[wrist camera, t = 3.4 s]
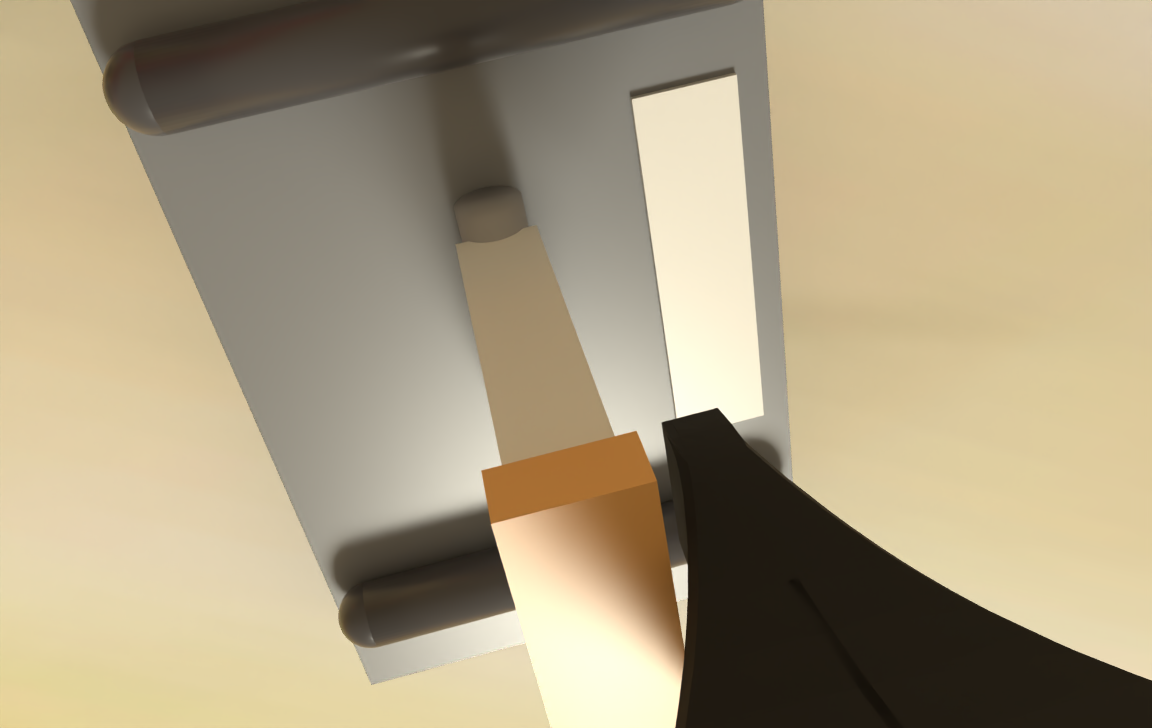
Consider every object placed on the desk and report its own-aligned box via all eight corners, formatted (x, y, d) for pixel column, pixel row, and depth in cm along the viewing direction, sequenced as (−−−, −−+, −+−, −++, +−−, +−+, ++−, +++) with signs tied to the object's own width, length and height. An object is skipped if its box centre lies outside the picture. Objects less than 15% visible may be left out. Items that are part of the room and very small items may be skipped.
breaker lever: (535, 175, 15) (654, 464, 9) (587, 424, 18) (703, 768, 12) (430, 200, 15) (486, 509, 9) (498, 447, 18) (573, 805, 12)
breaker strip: (698, -276, 14) (780, -270, 12) (764, 506, 23) (820, 611, 20) (56, -140, 14) (-11, -102, 11) (369, 611, 22) (373, 734, 20)
